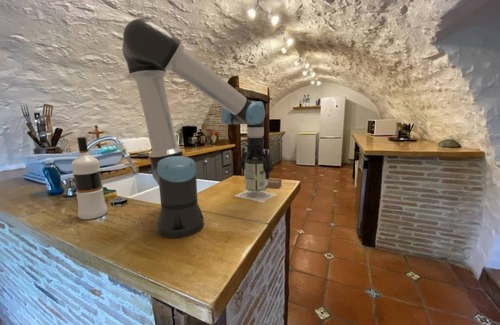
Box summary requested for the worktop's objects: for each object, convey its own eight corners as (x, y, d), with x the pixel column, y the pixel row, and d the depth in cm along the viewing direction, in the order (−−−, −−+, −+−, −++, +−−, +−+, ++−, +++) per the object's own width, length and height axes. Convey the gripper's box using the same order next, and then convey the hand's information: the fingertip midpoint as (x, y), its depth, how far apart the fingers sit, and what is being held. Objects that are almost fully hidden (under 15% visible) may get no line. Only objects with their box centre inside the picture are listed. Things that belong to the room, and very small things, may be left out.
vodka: (73, 222, 78) (59, 138, 73) (84, 211, 87) (72, 136, 81) (103, 218, 81) (91, 137, 75) (111, 209, 90) (100, 135, 84)
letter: (263, 203, 95) (262, 202, 94) (234, 196, 104) (234, 195, 103) (277, 194, 105) (277, 194, 105) (249, 189, 114) (249, 188, 114)
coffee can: (252, 184, 111) (252, 156, 108) (270, 187, 105) (270, 158, 103) (240, 189, 102) (240, 160, 99) (260, 193, 97) (260, 162, 94)
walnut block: (277, 190, 113) (278, 182, 112) (263, 188, 116) (263, 181, 115) (281, 185, 120) (281, 178, 119) (267, 184, 123) (267, 177, 122)
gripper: (281, 137, 96) (281, 185, 100) (240, 135, 108) (241, 178, 113) (273, 138, 89) (273, 190, 94) (231, 136, 102) (232, 182, 107)
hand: (255, 183), depth 103 cm, fingers closed on coffee can, 10 cm apart
